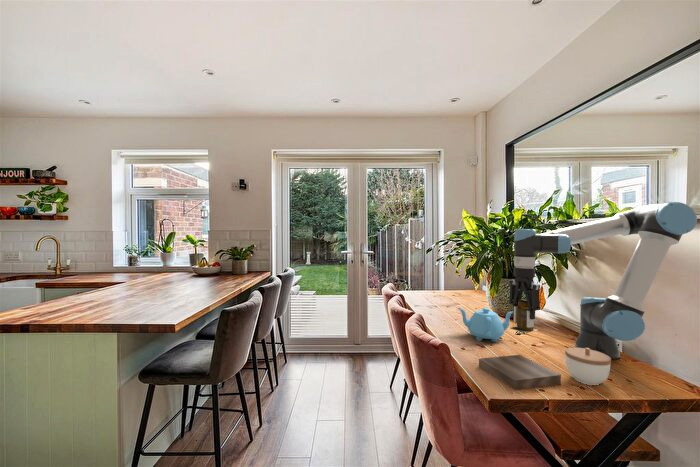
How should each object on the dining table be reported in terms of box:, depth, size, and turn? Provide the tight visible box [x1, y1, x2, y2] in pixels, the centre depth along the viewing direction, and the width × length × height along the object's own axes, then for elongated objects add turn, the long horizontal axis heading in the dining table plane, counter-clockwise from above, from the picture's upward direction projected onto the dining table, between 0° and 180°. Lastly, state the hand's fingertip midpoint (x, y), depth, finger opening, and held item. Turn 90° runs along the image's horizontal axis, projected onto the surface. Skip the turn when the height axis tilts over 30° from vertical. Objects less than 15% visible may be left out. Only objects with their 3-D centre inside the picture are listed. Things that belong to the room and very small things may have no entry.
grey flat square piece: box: [478, 354, 562, 391], centre depth 114 cm, size 18×18×3 cm
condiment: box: [510, 298, 539, 334], centre depth 131 cm, size 7×8×12 cm
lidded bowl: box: [564, 347, 612, 386], centre depth 110 cm, size 13×13×11 cm
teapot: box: [457, 307, 514, 343], centre depth 153 cm, size 16×20×14 cm
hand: (523, 324), depth 131 cm, fingers closed on condiment, 6 cm apart
